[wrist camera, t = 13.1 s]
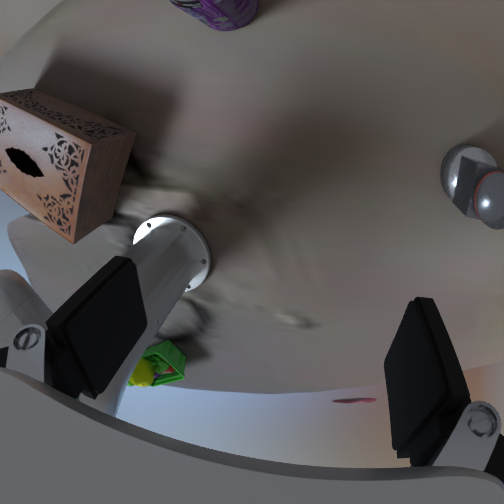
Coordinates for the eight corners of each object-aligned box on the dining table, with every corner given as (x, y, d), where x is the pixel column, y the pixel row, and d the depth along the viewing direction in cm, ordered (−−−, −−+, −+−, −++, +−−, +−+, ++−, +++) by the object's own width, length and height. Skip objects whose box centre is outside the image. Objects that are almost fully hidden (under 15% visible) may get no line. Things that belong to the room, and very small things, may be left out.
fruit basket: (160, 370, 60) (139, 409, 50) (132, 343, 57) (106, 381, 48) (195, 359, 55) (174, 404, 45) (164, 328, 53) (137, 371, 43)
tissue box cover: (137, 132, 37) (91, 144, 28) (113, 216, 44) (73, 244, 35) (34, 88, 35) (-9, 95, 27) (21, 159, 42) (-17, 174, 34)
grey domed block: (499, 167, 25) (526, 181, 19) (489, 212, 28) (512, 234, 22) (461, 154, 26) (484, 166, 21) (451, 202, 29) (471, 223, 23)
